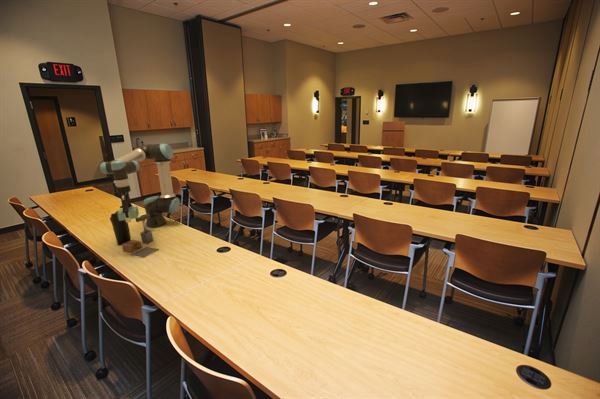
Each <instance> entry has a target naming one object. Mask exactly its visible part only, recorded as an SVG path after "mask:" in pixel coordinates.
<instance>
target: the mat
mask: <svg viewBox="0 0 600 399" xmlns="http://www.w3.org/2000/svg"><path fill="white" fill-rule="evenodd" d="M159 250H160V249H159V248H155V247H149V246H144V247H142V248H141V249H139V250H137V251H135V252H133V253H129V255H130V256H132V257H134V256H135V257H139V258H147V256H149V255H151V254H153V253H156V252H157V251H159Z"/></svg>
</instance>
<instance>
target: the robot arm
mask: <svg viewBox="0 0 600 399" xmlns="http://www.w3.org/2000/svg"><path fill="white" fill-rule="evenodd" d="M173 158H174V151H173V149H172V146H171V145H170V144H167V143H151V144H144V145H142V146H139V147H137V148H134V150H133V151H132V152H129V153H127V154H125V155H122V156H120V157H118V158H115V159H113V160H111V161H103V162H101V163H100V165H99V169H100V171H101V173H102V174H104V175H106V174H108V175H113V176H112V177H113V184H114V185H115V190H116V194H117V193H118V194H121V195H120V201H121V207H122V208H123V212H122V213H124V215H125V219H126V223H128V224H129V223H131V222H132V219H131V218H130V213H129V211H128V208H129V207H134V205H133V204H132V202H131V198H130V193H129V192H131V191H132V189H131V186H130V180H129V174H134V173H136V172H139V170H140V164H139V162H143V161H145V160H146V161H149V160H150V161H151V160H154V164H156V165H157V172H158V181H159V186H160V193H161V194H160V195H153V196H150V197H147V198H144V200H143V206H144V211H145V215H147V214H149V215H150V218H149V219H146V220H145V223H146V227H147V228H148V227H149V228H152V229H154V228H155V229H156V228H160V227H162V226H165V225H166V224H167V219H166V217H165V216H164V214H165V213H169V214H172V213H173V214H174V213H176V212H178V211H179V209H180V207H181V206H180V205H181V202H180V201H181V200H180V198H178V197H177V196H176V193H174V188H173V181H172V173H171V168H170V163H171V162H172V159H173ZM125 210H126V211H125Z"/></svg>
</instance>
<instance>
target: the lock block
mask: <svg viewBox="0 0 600 399" xmlns="http://www.w3.org/2000/svg"><path fill="white" fill-rule="evenodd" d="M140 239H141V244H142V245H143V244H144V245H149V244H152V243H154V237H153V231H152V232H150V231H146V232H144V230H143V231H141V232H140Z"/></svg>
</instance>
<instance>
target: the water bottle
mask: <svg viewBox="0 0 600 399" xmlns="http://www.w3.org/2000/svg"><path fill="white" fill-rule="evenodd" d="M118 211H119V210H117V211H116V212H114V213H110V214H111V215H110V217H109V221H110V222H111V226H112V229H113V232H114V236H115V240H116V243H117V246H122V244H124V243H126V242H129V241H131V240H132V239H131V238H132V237H131V232H130V227H129V222H128V223H126V220H121V221H119V218H118V214H117V213H118Z"/></svg>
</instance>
